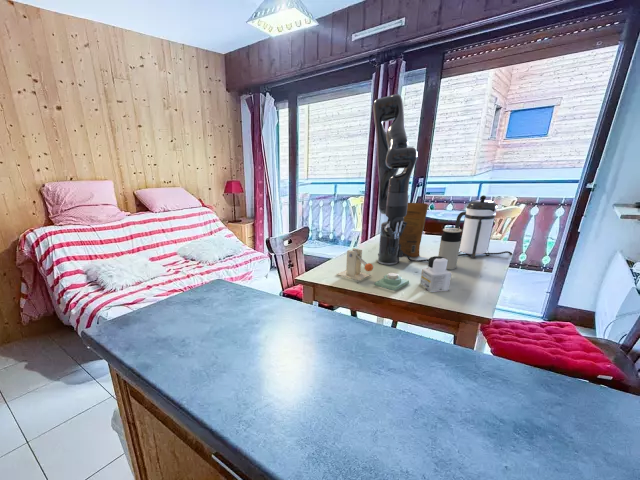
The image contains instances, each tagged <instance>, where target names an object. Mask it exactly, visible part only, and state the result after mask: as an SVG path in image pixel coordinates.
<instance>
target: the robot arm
mask: <svg viewBox="0 0 640 480" xmlns="http://www.w3.org/2000/svg"><path fill="white" fill-rule="evenodd" d="M372 109H373V119H374V120H373V121H374V128H375V138H376V159H377V160H376V161H377V171H378V173H377V174H378V210H379V212H380V214H381V215H384V216H386V217H387V221H384V222H382V223H381V224H380V233H379V245H378V254H377V256H378V258H377V263H379V264H381V265H385V266H387V265H388V266H393V265H397V264H400V258H403V257H404V255H405V257H406V259H407V260H408V261H409V262H418V263H419V262H420V263H421V262H422V263H423V262H429V258H428V259H411V257H409V256H408V255H407V254H405V253H403V251H402V250H400V249H401V244H399V242H400V236H401V235H402V233H403V231H404V229H405V227H406V225H407V222H404V218H403V217H405V216H406V215H407V206H408V203H409V189H410V179H411V176H412V173H413V170H414V168H415V165H416V163H417V160H418V151H417V149H416V148H415V147H414V146H409V140H408V136H407V133H406V132H407V131H406V128H405V127H406V126H405V112H404V103H403V98H402V96H401V95H400V94H398V93H396V94H391V95H388V96H383V97H380V98H377V99H375V100H374V102H373V108H372ZM390 121H392V122H391V124H390V125H389V127H388V129H387V131H386V130H385V128H384V123H385V122H390ZM400 169H402V171H401V172H400V173H399V174H398V172H399V170H400ZM485 254H486V255H489V254H490V255H502V254H509V255H513V253H512V252H511V251H509V250H508V251H507V250H505V251H501V252H489V253H488V252H486V253H485ZM485 254H484V255H485ZM463 256H472V254H466V253H459V254H458V257H463ZM479 256H481V254H479Z"/></svg>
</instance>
